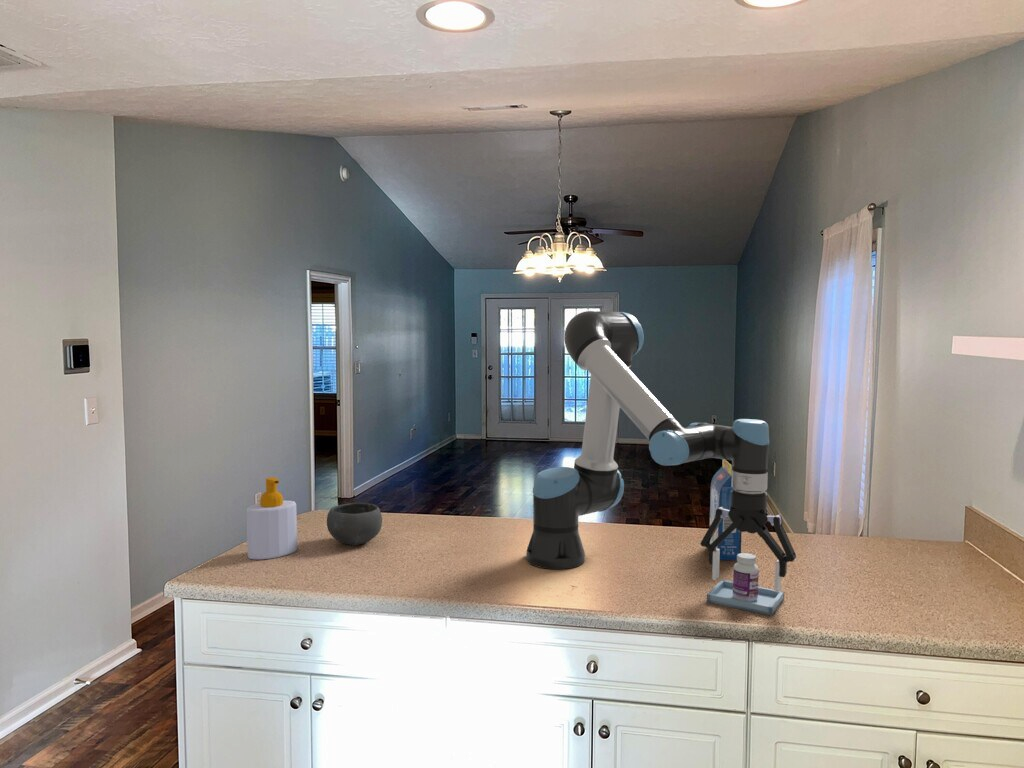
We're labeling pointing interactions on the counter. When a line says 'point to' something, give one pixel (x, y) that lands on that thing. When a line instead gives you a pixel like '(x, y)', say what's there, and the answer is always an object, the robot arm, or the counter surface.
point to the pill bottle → (745, 578)
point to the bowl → (354, 522)
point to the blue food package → (723, 499)
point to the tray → (763, 604)
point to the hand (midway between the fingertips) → (745, 584)
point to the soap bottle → (271, 525)
